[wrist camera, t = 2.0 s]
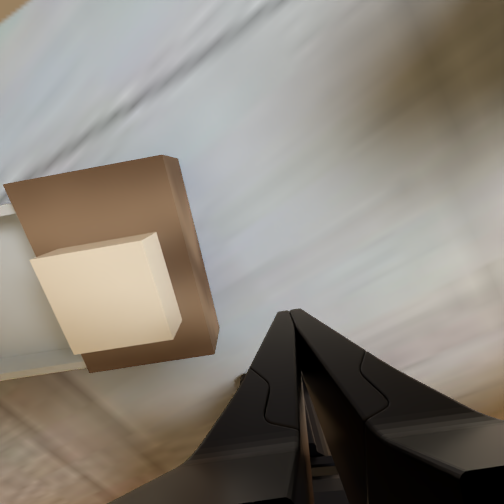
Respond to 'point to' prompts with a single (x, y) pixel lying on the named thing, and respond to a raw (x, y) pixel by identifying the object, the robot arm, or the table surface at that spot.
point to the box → (27, 311)
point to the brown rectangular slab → (124, 225)
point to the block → (110, 293)
